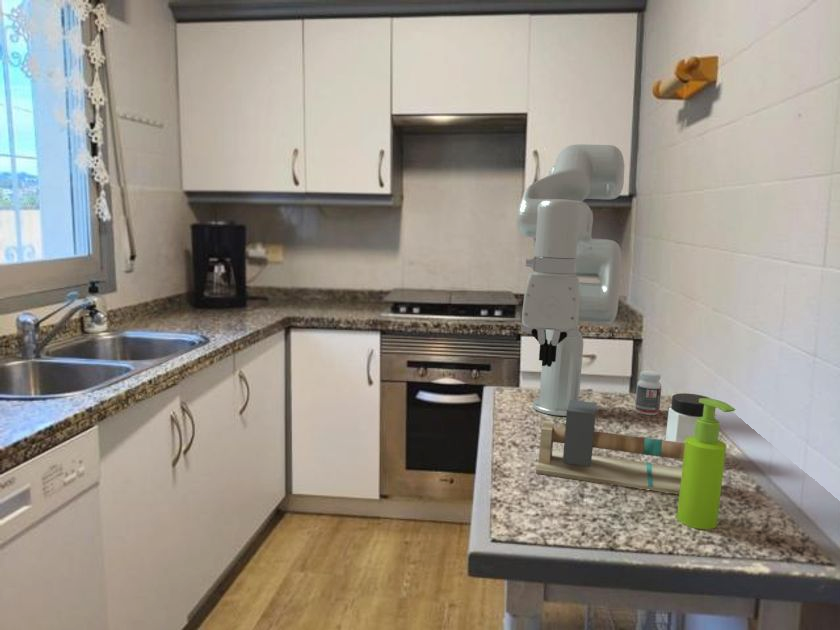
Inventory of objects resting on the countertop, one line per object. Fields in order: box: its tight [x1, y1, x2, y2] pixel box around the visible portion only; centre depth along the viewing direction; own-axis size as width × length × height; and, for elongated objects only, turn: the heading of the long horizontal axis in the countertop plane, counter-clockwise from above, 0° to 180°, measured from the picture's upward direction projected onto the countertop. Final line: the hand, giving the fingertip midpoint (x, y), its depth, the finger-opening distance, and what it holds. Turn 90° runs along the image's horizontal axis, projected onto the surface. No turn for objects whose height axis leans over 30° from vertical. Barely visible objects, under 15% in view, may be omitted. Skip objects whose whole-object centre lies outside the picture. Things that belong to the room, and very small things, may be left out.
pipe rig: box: [535, 420, 685, 495], centre depth 123 cm, size 12×30×8 cm, turn 73°
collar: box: [563, 400, 597, 467], centre depth 125 cm, size 8×5×10 cm, turn 163°
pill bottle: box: [634, 370, 662, 416], centre depth 164 cm, size 6×6×10 cm
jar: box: [665, 392, 717, 462], centre depth 135 cm, size 9×8×12 cm
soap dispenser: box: [676, 397, 736, 530], centre depth 104 cm, size 6×7×20 cm
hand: (546, 364), depth 125 cm, fingers closed
